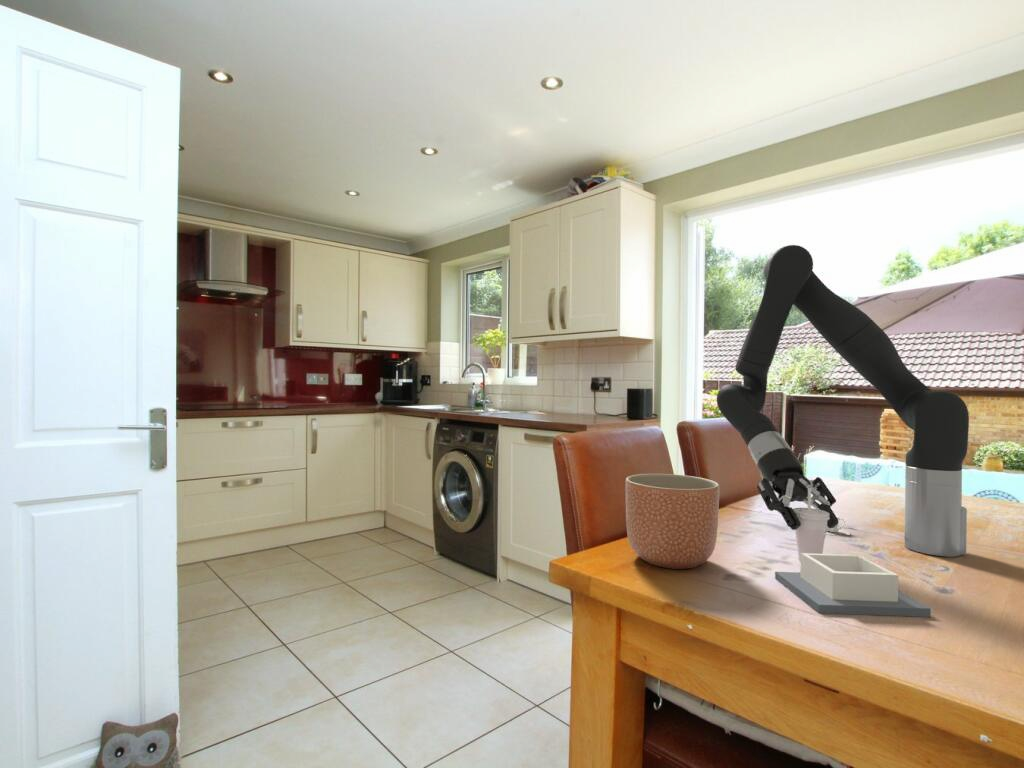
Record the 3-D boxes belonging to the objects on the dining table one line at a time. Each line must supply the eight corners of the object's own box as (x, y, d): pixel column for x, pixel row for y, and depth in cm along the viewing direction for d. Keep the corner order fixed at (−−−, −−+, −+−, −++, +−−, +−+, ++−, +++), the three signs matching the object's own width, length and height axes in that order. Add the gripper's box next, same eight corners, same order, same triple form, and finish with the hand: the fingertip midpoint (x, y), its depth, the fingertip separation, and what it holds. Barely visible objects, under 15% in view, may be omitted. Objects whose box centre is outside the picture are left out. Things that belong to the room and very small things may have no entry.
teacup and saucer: (802, 532, 124) (803, 514, 124) (813, 526, 130) (813, 509, 130) (845, 540, 118) (845, 522, 118) (854, 533, 124) (855, 516, 124)
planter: (726, 580, 90) (727, 491, 90) (624, 572, 94) (626, 486, 94) (709, 550, 107) (710, 475, 107) (624, 544, 110) (625, 471, 110)
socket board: (869, 581, 91) (870, 551, 91) (930, 616, 77) (931, 581, 77) (775, 578, 92) (775, 548, 92) (818, 612, 78) (818, 577, 78)
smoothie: (819, 557, 104) (820, 486, 104) (836, 568, 98) (837, 492, 98) (785, 555, 105) (786, 485, 105) (799, 566, 98) (800, 491, 98)
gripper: (752, 446, 107) (794, 517, 96) (812, 446, 110) (859, 515, 99) (736, 469, 112) (773, 538, 101) (793, 468, 115) (836, 535, 104)
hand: (815, 526), depth 100 cm, fingers open, 8 cm apart
